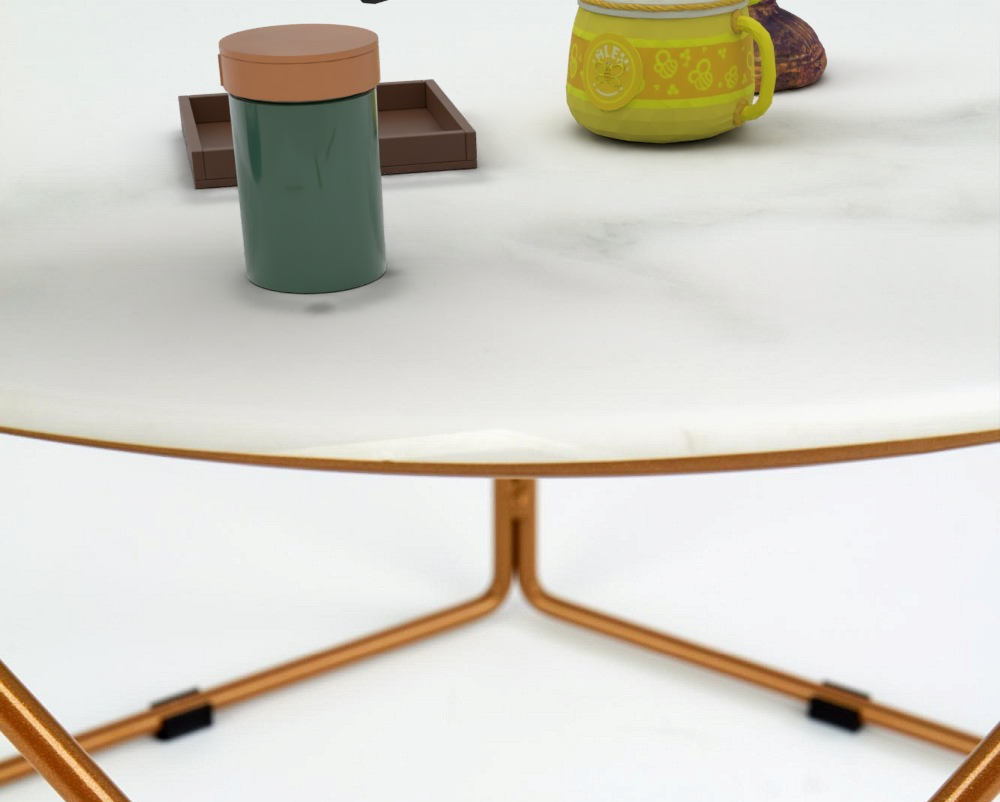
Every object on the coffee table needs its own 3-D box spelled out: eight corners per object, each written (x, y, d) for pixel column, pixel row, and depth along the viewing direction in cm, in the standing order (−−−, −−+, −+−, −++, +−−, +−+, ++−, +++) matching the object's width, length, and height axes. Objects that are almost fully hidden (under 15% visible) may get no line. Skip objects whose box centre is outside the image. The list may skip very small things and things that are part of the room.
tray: (195, 188, 90) (191, 151, 89) (181, 129, 101) (177, 95, 100) (477, 167, 93) (476, 131, 92) (434, 111, 104) (433, 78, 103)
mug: (526, 135, 98) (524, -96, 92) (632, 98, 106) (638, -119, 99) (718, 169, 92) (730, -78, 85) (817, 126, 99) (836, -104, 92)
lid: (227, 106, 71) (222, 60, 70) (215, 72, 76) (211, 28, 75) (391, 95, 72) (389, 50, 71) (368, 62, 77) (366, 19, 76)
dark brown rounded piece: (782, 103, 104) (791, -27, 100) (608, 83, 109) (610, -42, 105) (855, 66, 112) (866, -56, 108) (690, 48, 117) (695, -68, 113)
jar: (252, 298, 75) (230, 69, 70) (240, 255, 81) (218, 38, 75) (396, 286, 77) (384, 59, 71) (375, 244, 82) (362, 30, 76)
